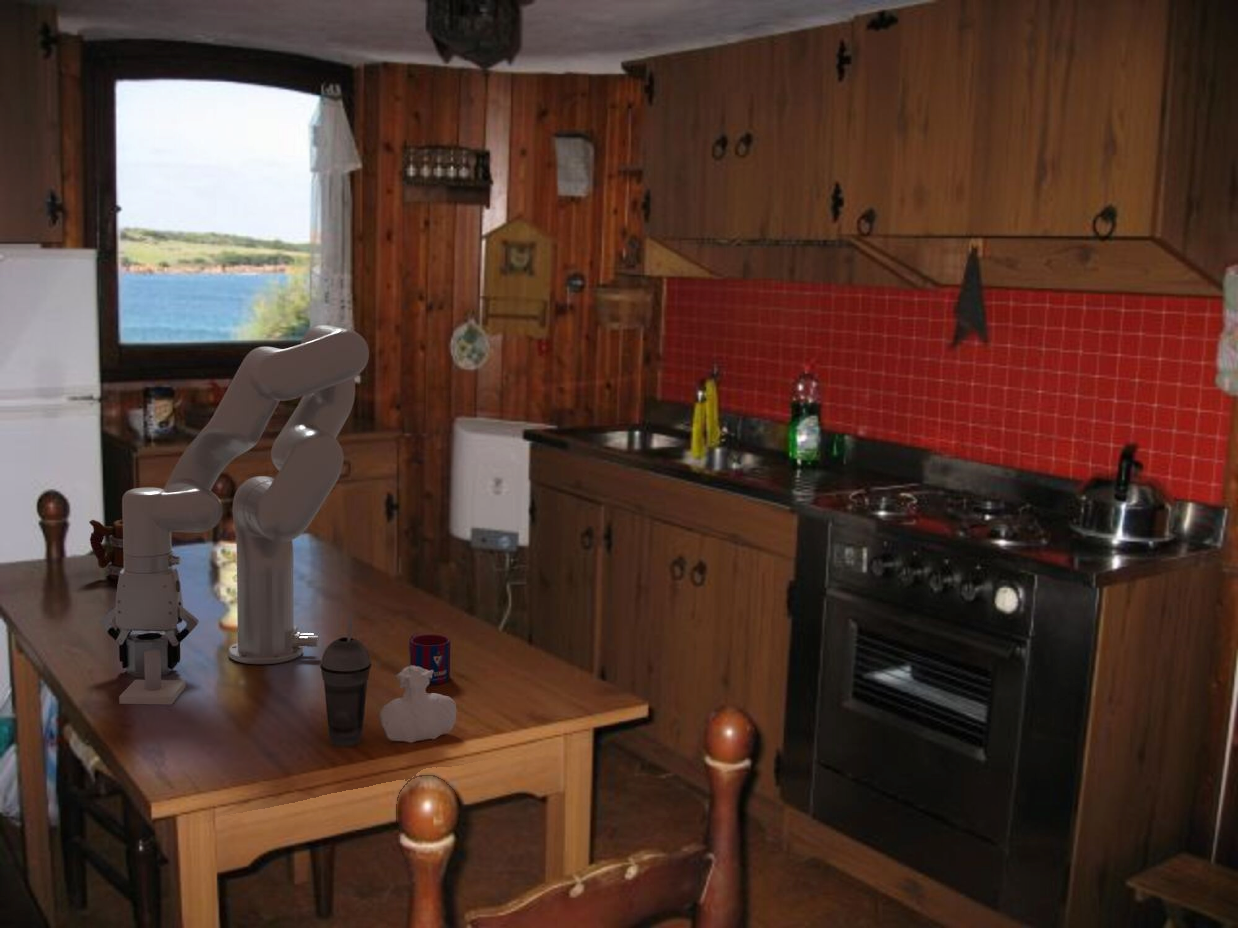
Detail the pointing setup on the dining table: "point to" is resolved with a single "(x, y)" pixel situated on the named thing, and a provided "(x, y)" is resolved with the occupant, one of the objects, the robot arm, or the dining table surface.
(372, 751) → the dining table surface
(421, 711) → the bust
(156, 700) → the shaft block
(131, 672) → the ring
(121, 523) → the mug
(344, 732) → the beverage cup
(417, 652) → the cup
